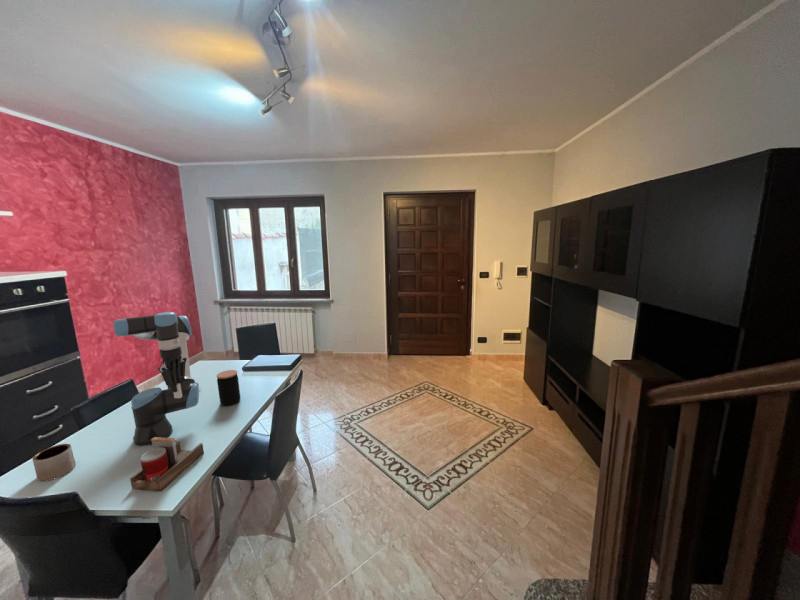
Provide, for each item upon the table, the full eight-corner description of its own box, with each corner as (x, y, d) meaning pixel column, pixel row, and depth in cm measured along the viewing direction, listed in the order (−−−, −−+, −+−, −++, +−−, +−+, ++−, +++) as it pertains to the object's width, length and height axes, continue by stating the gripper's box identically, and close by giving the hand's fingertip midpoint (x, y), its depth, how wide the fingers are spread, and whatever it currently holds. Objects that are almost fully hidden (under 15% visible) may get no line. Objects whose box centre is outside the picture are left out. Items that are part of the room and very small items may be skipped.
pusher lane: (132, 489, 119) (130, 478, 119) (179, 451, 141) (177, 441, 140) (161, 491, 118) (159, 480, 117) (203, 453, 139) (202, 443, 138)
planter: (76, 471, 130) (71, 450, 128) (37, 486, 122) (31, 464, 120) (75, 459, 137) (70, 440, 135) (37, 473, 129) (32, 452, 127)
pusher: (156, 469, 128) (151, 439, 125) (160, 467, 130) (154, 436, 127) (176, 471, 127) (171, 440, 124) (180, 468, 128) (174, 438, 126)
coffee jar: (244, 397, 189) (241, 370, 186) (233, 406, 179) (229, 377, 175) (228, 397, 190) (224, 369, 187) (216, 406, 180) (212, 377, 177)
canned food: (174, 473, 126) (170, 448, 124) (154, 487, 119) (149, 462, 117) (161, 469, 128) (156, 445, 126) (140, 483, 121) (135, 458, 119)
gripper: (165, 353, 129) (173, 405, 133) (189, 343, 142) (196, 390, 146) (149, 352, 130) (158, 404, 134) (174, 342, 143) (182, 390, 147)
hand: (178, 397), depth 140 cm, fingers closed
